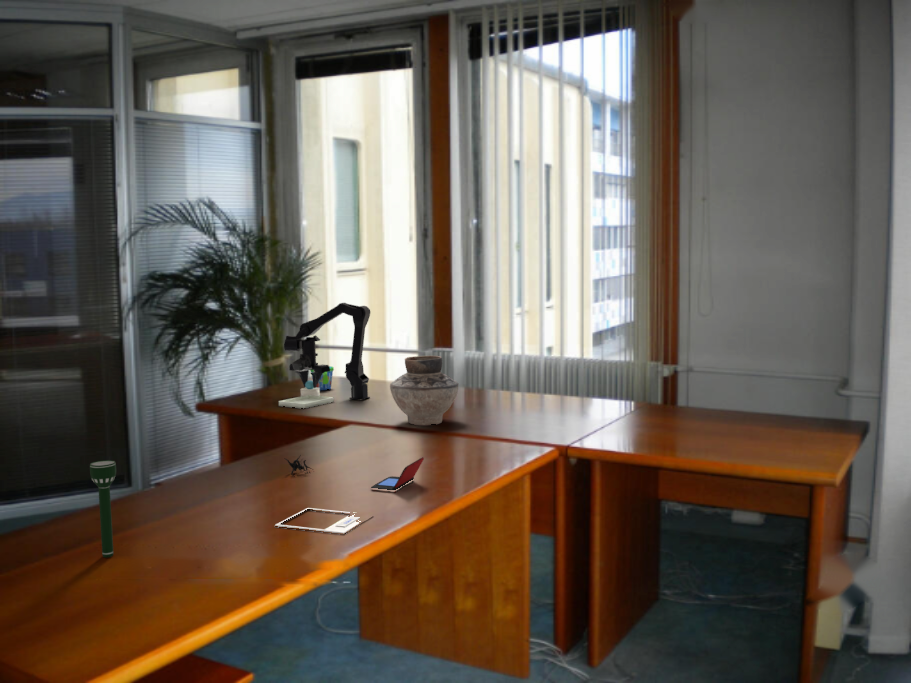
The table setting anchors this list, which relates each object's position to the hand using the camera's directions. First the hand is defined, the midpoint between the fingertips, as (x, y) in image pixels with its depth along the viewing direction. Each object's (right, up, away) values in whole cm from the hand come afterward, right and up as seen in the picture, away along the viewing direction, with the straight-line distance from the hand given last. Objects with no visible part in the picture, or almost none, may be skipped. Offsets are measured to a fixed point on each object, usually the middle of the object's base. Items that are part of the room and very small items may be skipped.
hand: (310, 387), depth 392 cm
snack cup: (+2, -2, +23) cm, 23 cm away
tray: (+1, -6, -16) cm, 17 cm away
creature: (+19, -18, -133) cm, 135 cm away
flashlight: (-10, -26, -201) cm, 203 cm away
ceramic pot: (+52, -10, -59) cm, 79 cm away
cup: (0, -4, 0) cm, 4 cm away
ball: (0, -1, 0) cm, 1 cm away
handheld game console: (+47, -19, -148) cm, 157 cm away
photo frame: (+32, -23, -179) cm, 183 cm away
